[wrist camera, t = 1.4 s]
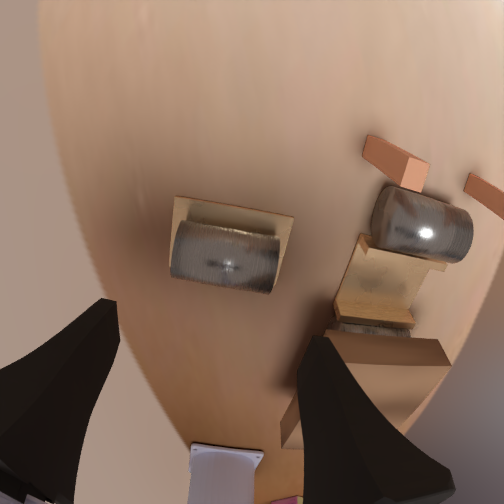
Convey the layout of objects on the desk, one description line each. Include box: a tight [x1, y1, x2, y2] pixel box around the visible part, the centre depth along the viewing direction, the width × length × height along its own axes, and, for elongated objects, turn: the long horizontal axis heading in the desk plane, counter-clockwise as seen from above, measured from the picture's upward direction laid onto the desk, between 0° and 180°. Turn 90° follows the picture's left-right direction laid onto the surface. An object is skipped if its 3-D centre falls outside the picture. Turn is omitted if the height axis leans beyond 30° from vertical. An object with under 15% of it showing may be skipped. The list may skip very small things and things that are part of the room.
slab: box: [280, 329, 452, 449], centre depth 18 cm, size 10×8×2 cm
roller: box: [171, 220, 280, 294], centre depth 16 cm, size 5×3×3 cm, turn 79°
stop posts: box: [362, 135, 504, 220], centre depth 13 cm, size 1×8×5 cm, turn 79°
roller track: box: [169, 186, 473, 338], centre depth 19 cm, size 19×16×3 cm
